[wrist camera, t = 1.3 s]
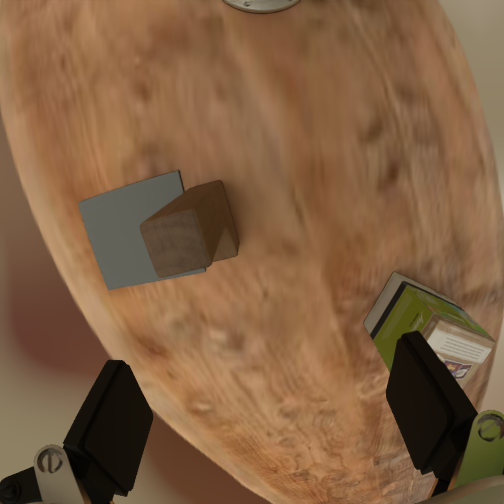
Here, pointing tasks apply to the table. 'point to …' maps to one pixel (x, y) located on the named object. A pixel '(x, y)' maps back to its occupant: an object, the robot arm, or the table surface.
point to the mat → (128, 229)
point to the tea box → (428, 326)
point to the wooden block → (191, 231)
